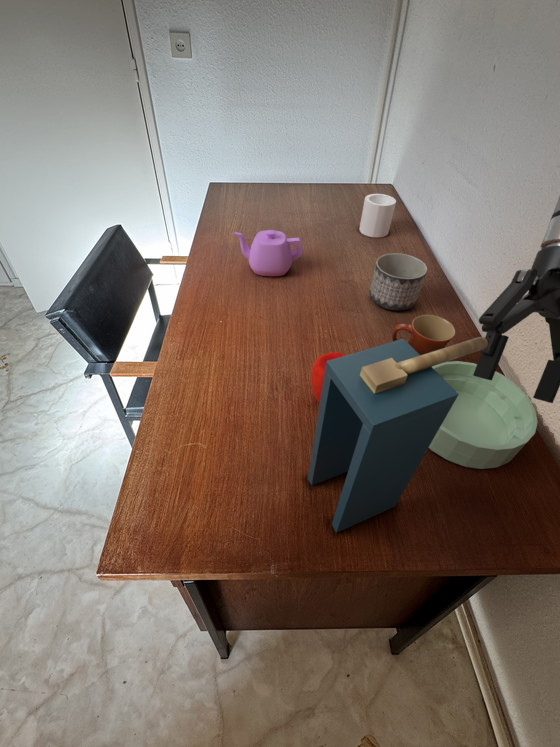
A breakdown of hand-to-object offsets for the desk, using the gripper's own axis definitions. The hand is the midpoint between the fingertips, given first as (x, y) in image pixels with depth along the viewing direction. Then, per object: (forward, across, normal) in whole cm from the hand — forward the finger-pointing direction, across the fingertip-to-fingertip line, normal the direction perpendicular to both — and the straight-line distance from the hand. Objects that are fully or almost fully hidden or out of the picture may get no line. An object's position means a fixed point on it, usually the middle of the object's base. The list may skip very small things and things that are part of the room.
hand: (513, 390), depth 56 cm
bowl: (+8, -8, -14) cm, 18 cm away
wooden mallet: (+1, +22, +6) cm, 23 cm away
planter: (-16, -6, -48) cm, 51 cm away
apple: (+13, +15, -26) cm, 32 cm away
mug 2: (-43, -11, -80) cm, 92 cm away
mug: (0, -4, -29) cm, 29 cm away
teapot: (-15, +24, -70) cm, 76 cm away
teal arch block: (+24, +15, -9) cm, 30 cm away
